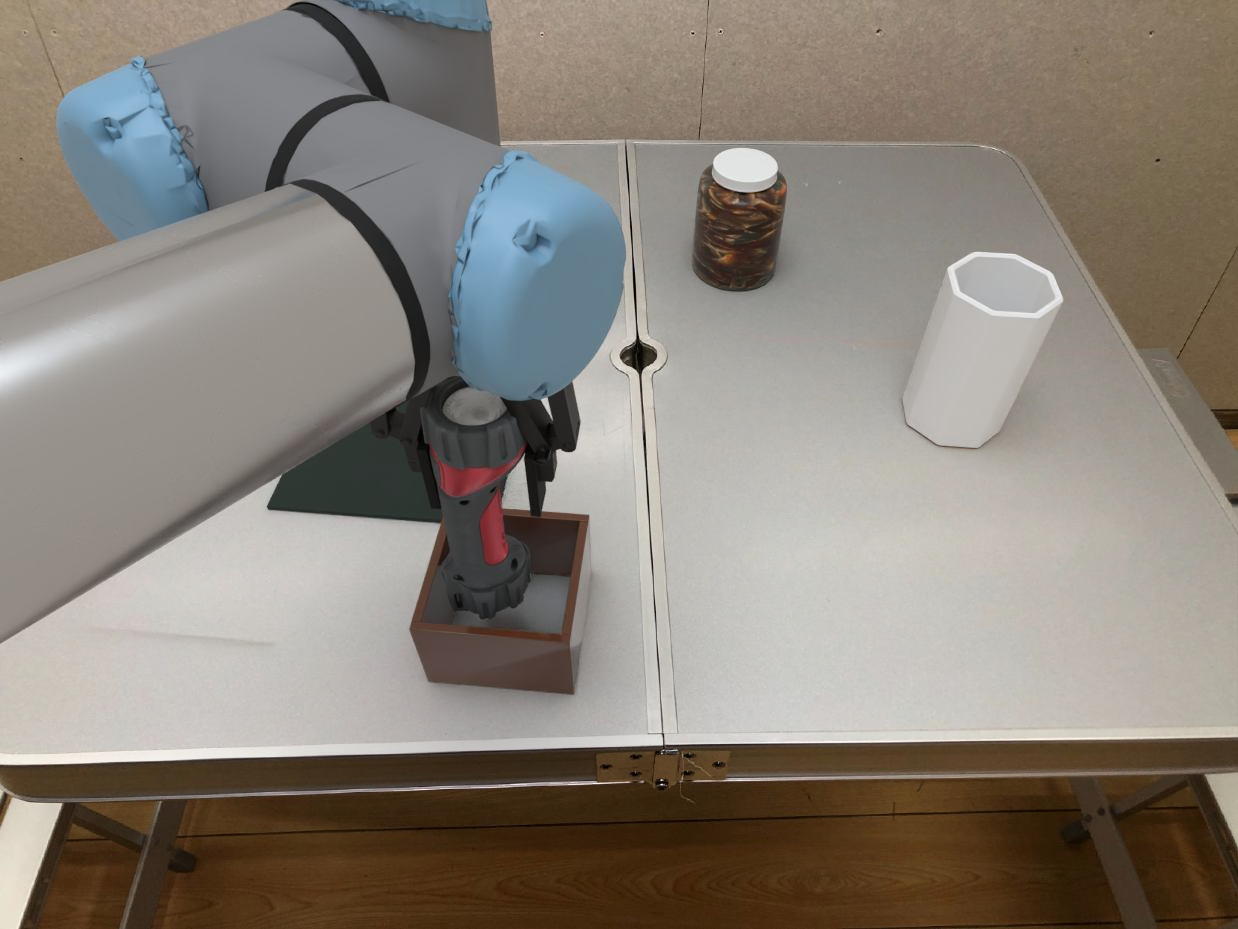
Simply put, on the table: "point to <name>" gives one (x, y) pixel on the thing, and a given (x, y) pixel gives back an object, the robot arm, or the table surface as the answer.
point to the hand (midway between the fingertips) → (489, 498)
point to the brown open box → (504, 652)
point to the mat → (358, 481)
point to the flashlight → (476, 495)
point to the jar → (739, 220)
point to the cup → (979, 347)
